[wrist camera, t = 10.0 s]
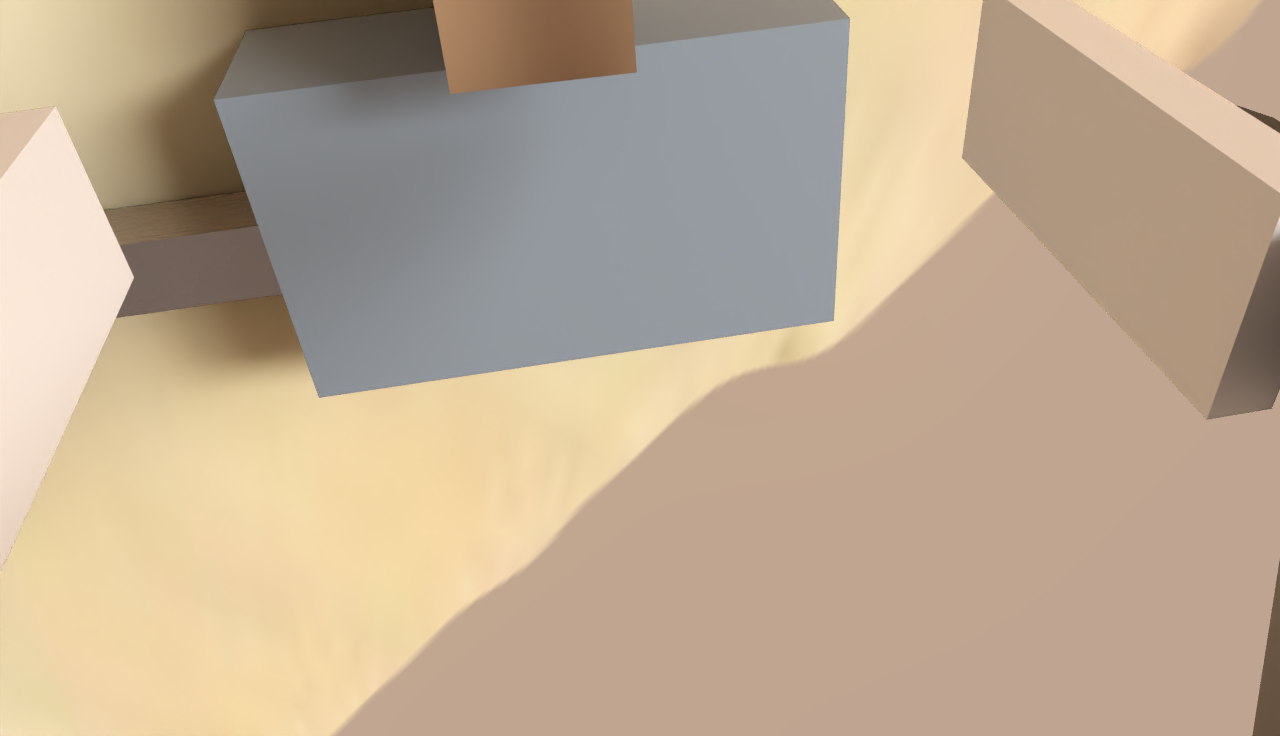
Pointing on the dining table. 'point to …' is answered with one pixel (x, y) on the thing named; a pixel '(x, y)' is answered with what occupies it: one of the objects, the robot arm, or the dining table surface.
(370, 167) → the dock block
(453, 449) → the dining table surface
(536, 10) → the peg
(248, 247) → the lock pin
